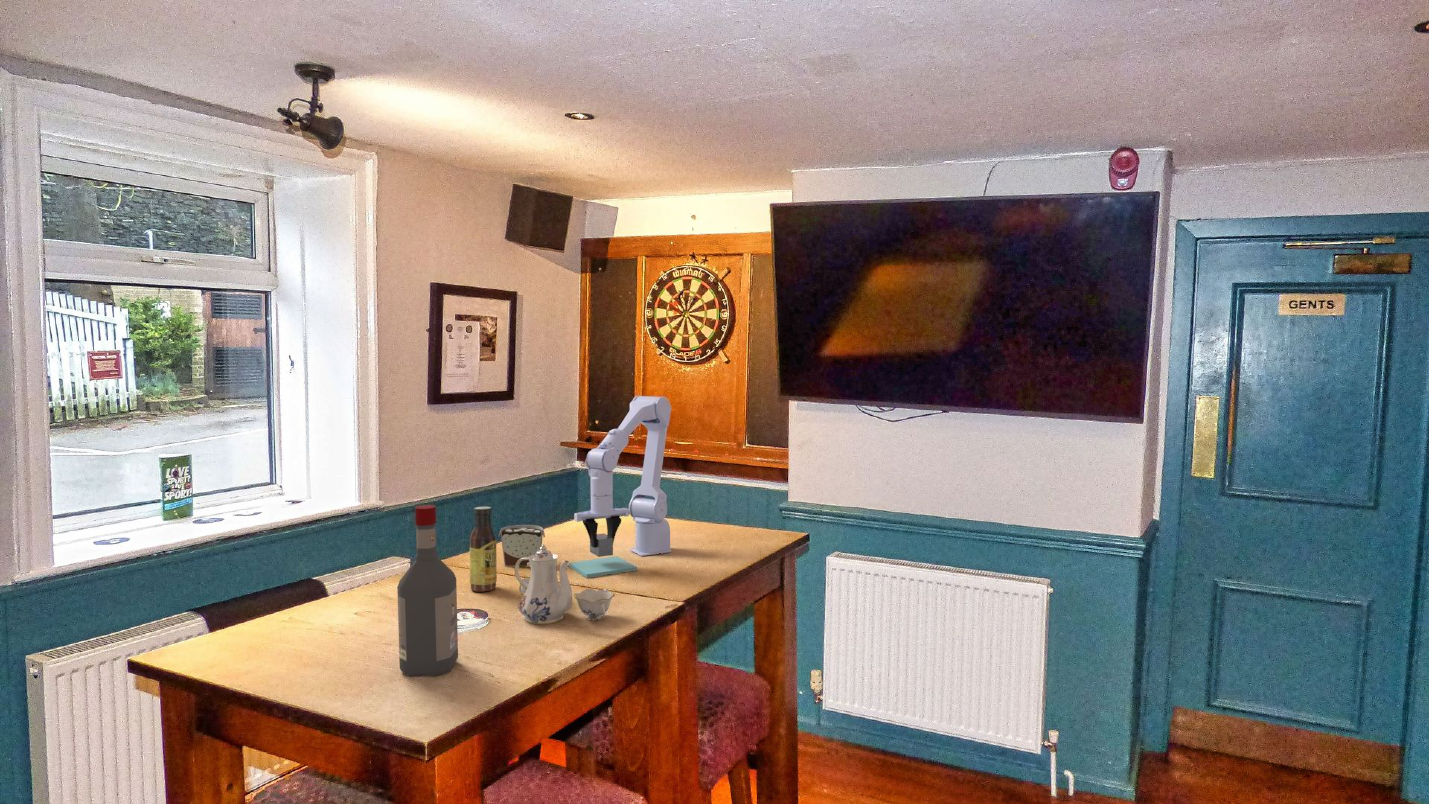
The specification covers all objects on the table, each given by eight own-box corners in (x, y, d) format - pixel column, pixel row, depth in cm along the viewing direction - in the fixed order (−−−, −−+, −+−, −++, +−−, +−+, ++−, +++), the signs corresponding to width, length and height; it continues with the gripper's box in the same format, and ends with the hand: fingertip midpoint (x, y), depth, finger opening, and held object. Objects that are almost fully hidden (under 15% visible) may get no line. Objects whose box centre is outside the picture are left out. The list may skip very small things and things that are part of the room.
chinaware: (627, 622, 191) (631, 546, 191) (577, 637, 177) (582, 555, 177) (531, 602, 206) (535, 532, 206) (479, 614, 191) (483, 538, 192)
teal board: (617, 559, 238) (617, 556, 238) (637, 570, 227) (637, 567, 227) (568, 566, 231) (568, 562, 231) (586, 578, 220) (586, 574, 220)
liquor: (460, 658, 166) (457, 501, 163) (447, 677, 156) (443, 511, 154) (412, 658, 165) (408, 502, 163) (396, 677, 156) (391, 512, 154)
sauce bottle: (489, 593, 207) (487, 511, 205) (465, 592, 208) (463, 510, 207) (501, 586, 213) (500, 505, 212) (478, 584, 214) (476, 504, 213)
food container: (551, 561, 237) (550, 524, 236) (544, 567, 231) (543, 530, 230) (507, 560, 238) (506, 523, 237) (499, 566, 232) (498, 528, 231)
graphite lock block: (604, 550, 233) (603, 533, 232) (612, 555, 228) (612, 538, 227) (590, 551, 231) (589, 535, 231) (598, 556, 226) (598, 539, 225)
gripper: (621, 489, 235) (621, 539, 236) (569, 494, 227) (570, 545, 228) (632, 493, 229) (632, 544, 230) (579, 498, 221) (580, 551, 222)
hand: (602, 545), depth 229 cm, fingers closed on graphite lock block, 4 cm apart
